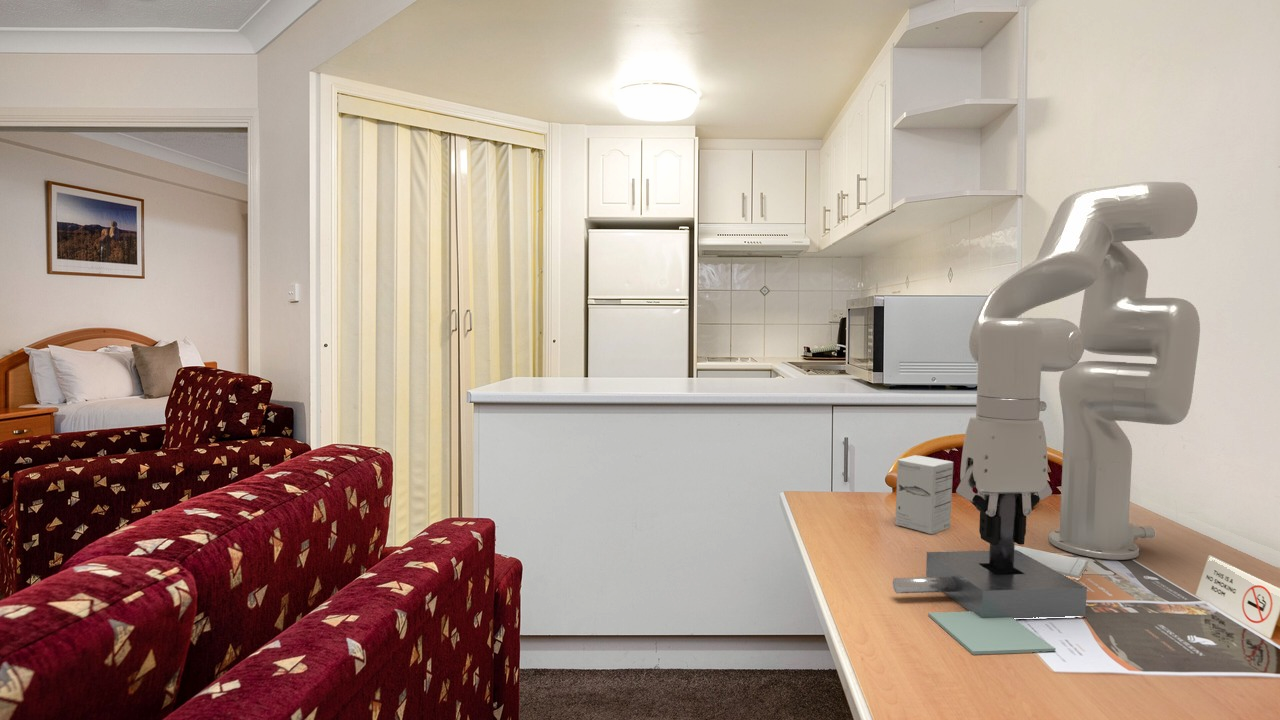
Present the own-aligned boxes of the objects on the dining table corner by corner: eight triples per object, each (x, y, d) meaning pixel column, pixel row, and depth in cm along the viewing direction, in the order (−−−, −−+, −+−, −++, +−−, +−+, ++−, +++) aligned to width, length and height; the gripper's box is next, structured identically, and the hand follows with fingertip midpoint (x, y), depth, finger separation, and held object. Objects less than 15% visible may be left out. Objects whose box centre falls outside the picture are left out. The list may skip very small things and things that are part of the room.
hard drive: (987, 554, 105) (1079, 573, 97) (1000, 541, 112) (1087, 558, 103) (986, 564, 106) (1078, 584, 97) (999, 550, 112) (1087, 569, 103)
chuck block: (1015, 576, 99) (1016, 549, 99) (1085, 618, 85) (1086, 587, 85) (873, 579, 97) (874, 553, 97) (921, 623, 83) (922, 592, 83)
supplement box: (893, 525, 123) (895, 458, 123) (914, 518, 128) (916, 453, 127) (932, 535, 118) (934, 465, 117) (952, 527, 122) (954, 460, 121)
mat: (1001, 613, 86) (1001, 610, 86) (1055, 651, 76) (1055, 648, 76) (928, 615, 86) (928, 612, 86) (972, 654, 76) (972, 651, 76)
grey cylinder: (1005, 562, 93) (1008, 472, 92) (1020, 571, 90) (1024, 478, 89) (982, 562, 93) (985, 473, 92) (997, 571, 89) (1000, 478, 89)
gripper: (1045, 406, 94) (1039, 532, 95) (935, 406, 93) (931, 534, 94) (1084, 413, 87) (1077, 550, 88) (965, 413, 86) (960, 552, 87)
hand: (1002, 540), depth 91 cm, fingers closed on grey cylinder, 3 cm apart
